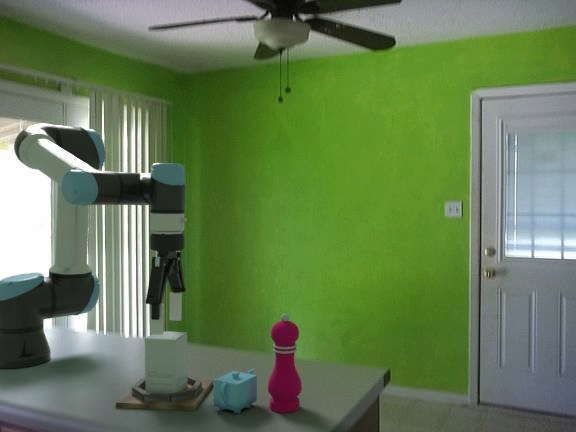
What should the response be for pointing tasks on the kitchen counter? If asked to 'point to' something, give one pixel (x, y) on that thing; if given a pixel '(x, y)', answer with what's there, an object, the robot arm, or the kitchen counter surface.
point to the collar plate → (166, 396)
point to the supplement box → (166, 362)
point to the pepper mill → (284, 368)
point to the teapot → (235, 390)
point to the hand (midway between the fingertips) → (166, 326)
